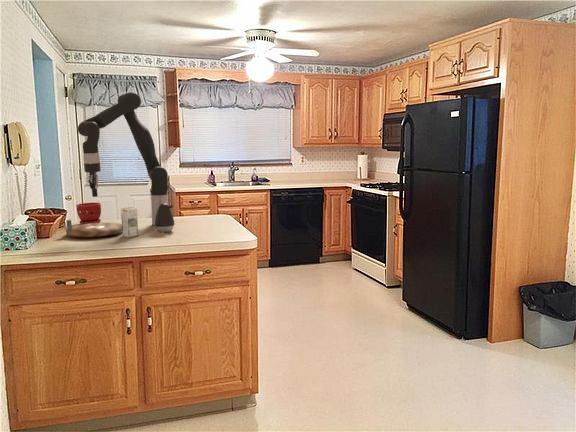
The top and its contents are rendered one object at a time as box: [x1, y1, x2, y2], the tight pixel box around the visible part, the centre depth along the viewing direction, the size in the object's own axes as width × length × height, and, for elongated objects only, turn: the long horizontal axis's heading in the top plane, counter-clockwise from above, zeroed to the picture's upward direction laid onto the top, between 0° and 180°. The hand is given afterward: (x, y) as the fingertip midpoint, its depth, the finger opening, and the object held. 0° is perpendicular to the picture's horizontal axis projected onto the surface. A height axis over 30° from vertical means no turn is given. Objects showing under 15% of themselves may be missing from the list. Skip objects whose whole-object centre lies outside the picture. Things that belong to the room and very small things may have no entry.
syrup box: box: [120, 206, 139, 238], centre depth 239 cm, size 6×6×14 cm
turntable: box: [65, 219, 122, 238], centre depth 245 cm, size 28×28×7 cm
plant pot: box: [76, 202, 102, 225], centre depth 273 cm, size 13×13×12 cm
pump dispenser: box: [154, 203, 175, 233], centre depth 250 cm, size 10×10×15 cm
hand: (95, 196), depth 239 cm, fingers closed
